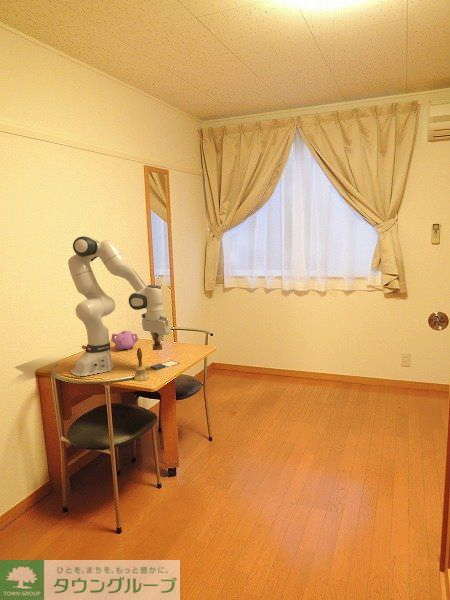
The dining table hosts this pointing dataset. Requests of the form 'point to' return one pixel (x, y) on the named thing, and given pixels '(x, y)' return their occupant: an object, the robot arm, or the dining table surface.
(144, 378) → the hand bell
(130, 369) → the dining table surface
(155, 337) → the stamp
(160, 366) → the ink pad
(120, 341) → the pot
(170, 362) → the marked card
